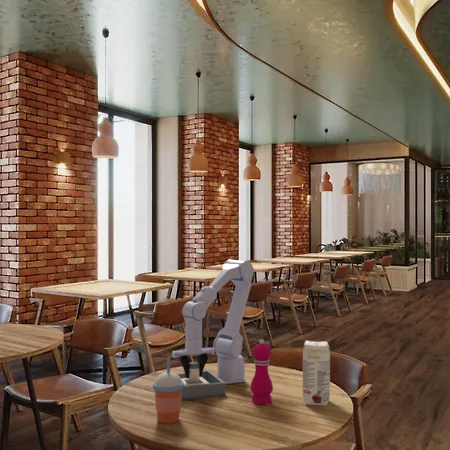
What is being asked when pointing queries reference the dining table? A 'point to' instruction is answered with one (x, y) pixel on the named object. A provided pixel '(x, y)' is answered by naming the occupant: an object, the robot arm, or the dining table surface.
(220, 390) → the walled box
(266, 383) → the pepper mill
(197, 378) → the connector peg
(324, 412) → the dining table surface
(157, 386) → the cup with straw
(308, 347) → the juice carton
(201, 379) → the inlet socket
